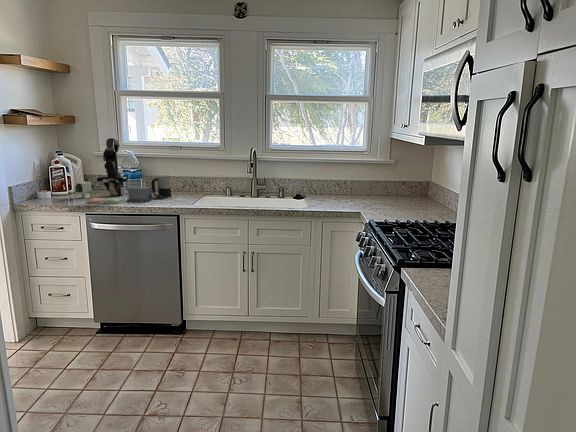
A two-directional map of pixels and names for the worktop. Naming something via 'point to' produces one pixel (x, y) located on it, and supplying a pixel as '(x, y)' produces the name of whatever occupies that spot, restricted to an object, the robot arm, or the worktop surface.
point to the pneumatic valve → (84, 188)
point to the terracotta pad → (96, 200)
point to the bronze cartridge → (112, 189)
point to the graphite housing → (140, 194)
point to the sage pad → (114, 200)
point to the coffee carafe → (162, 186)
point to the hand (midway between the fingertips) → (113, 191)
